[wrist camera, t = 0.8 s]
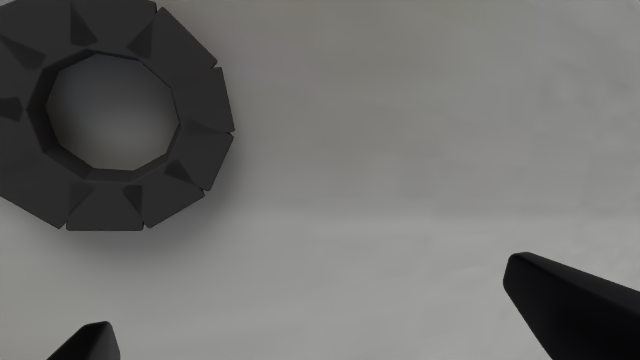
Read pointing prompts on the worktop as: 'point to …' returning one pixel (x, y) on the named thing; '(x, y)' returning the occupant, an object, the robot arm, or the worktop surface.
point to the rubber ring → (67, 169)
